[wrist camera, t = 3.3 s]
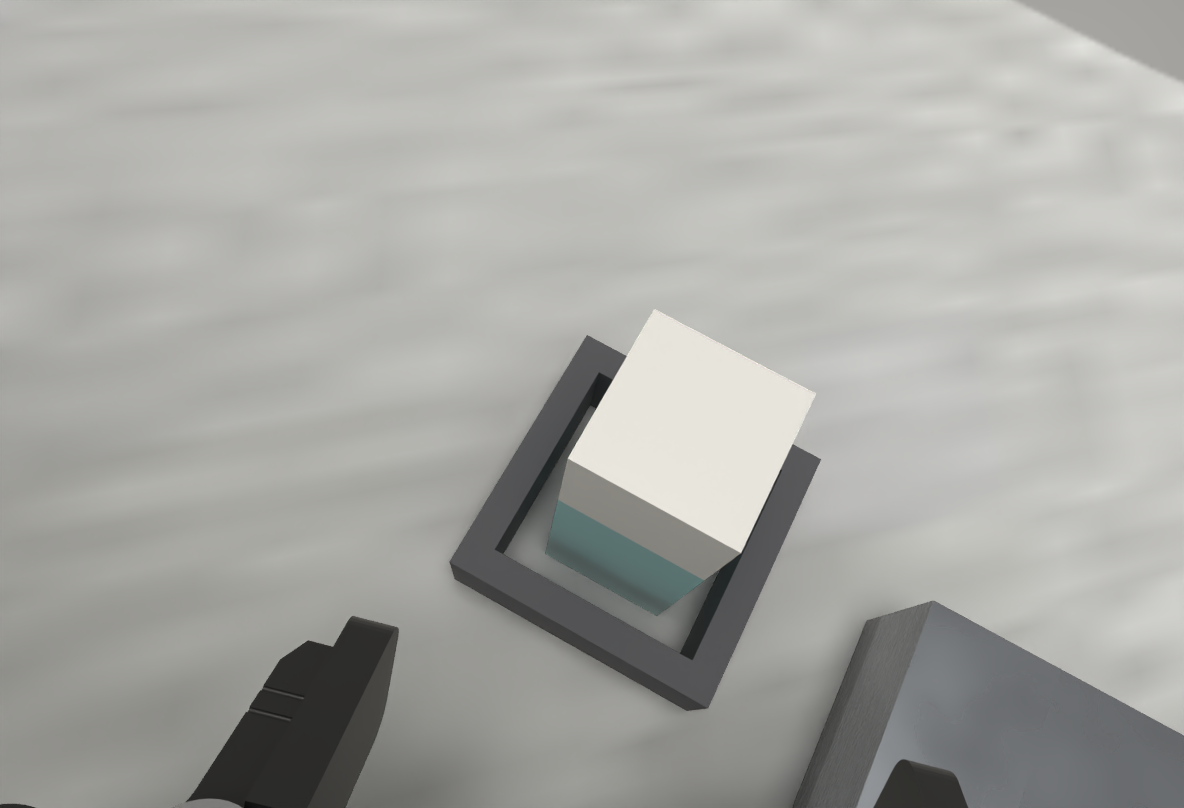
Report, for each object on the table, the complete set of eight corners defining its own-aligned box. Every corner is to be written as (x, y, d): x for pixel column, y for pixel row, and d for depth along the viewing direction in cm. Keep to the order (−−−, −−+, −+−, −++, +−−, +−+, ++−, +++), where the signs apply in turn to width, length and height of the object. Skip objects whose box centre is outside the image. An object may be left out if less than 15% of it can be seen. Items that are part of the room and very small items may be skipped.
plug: (545, 553, 24) (567, 458, 16) (604, 449, 25) (654, 308, 17) (657, 615, 24) (740, 553, 15) (710, 507, 25) (816, 394, 17)
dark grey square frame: (454, 578, 24) (449, 562, 21) (579, 370, 26) (586, 335, 24) (687, 710, 23) (707, 708, 21) (791, 484, 25) (821, 459, 23)
